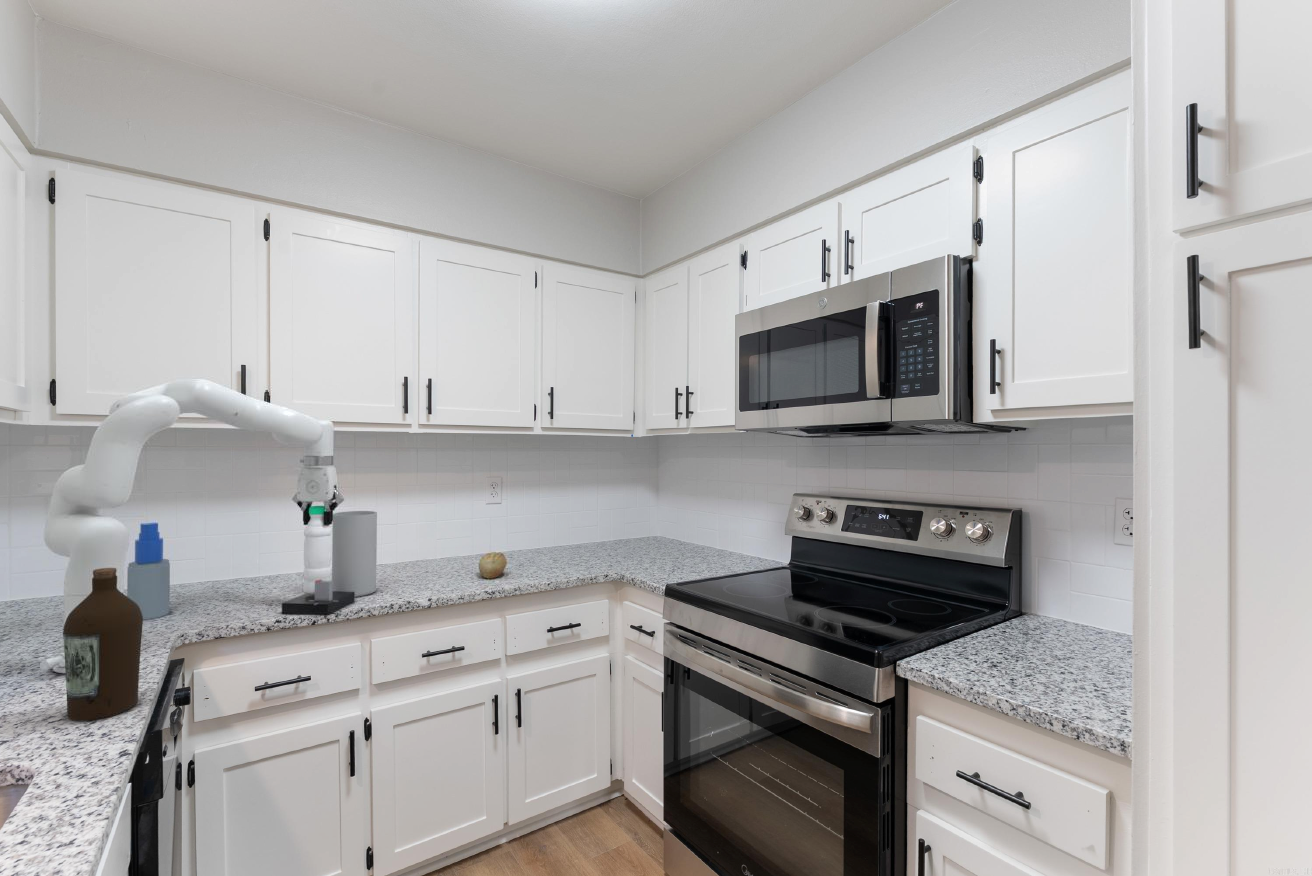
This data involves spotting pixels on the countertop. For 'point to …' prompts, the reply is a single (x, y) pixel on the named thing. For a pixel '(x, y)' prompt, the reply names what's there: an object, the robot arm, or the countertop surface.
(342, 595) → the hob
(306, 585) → the water bottle
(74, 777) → the countertop surface
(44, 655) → the countertop surface
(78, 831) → the countertop surface
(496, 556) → the bread roll
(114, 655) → the olive oil
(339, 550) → the cylinder vase
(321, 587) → the knob
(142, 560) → the spray bottle
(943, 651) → the countertop surface
